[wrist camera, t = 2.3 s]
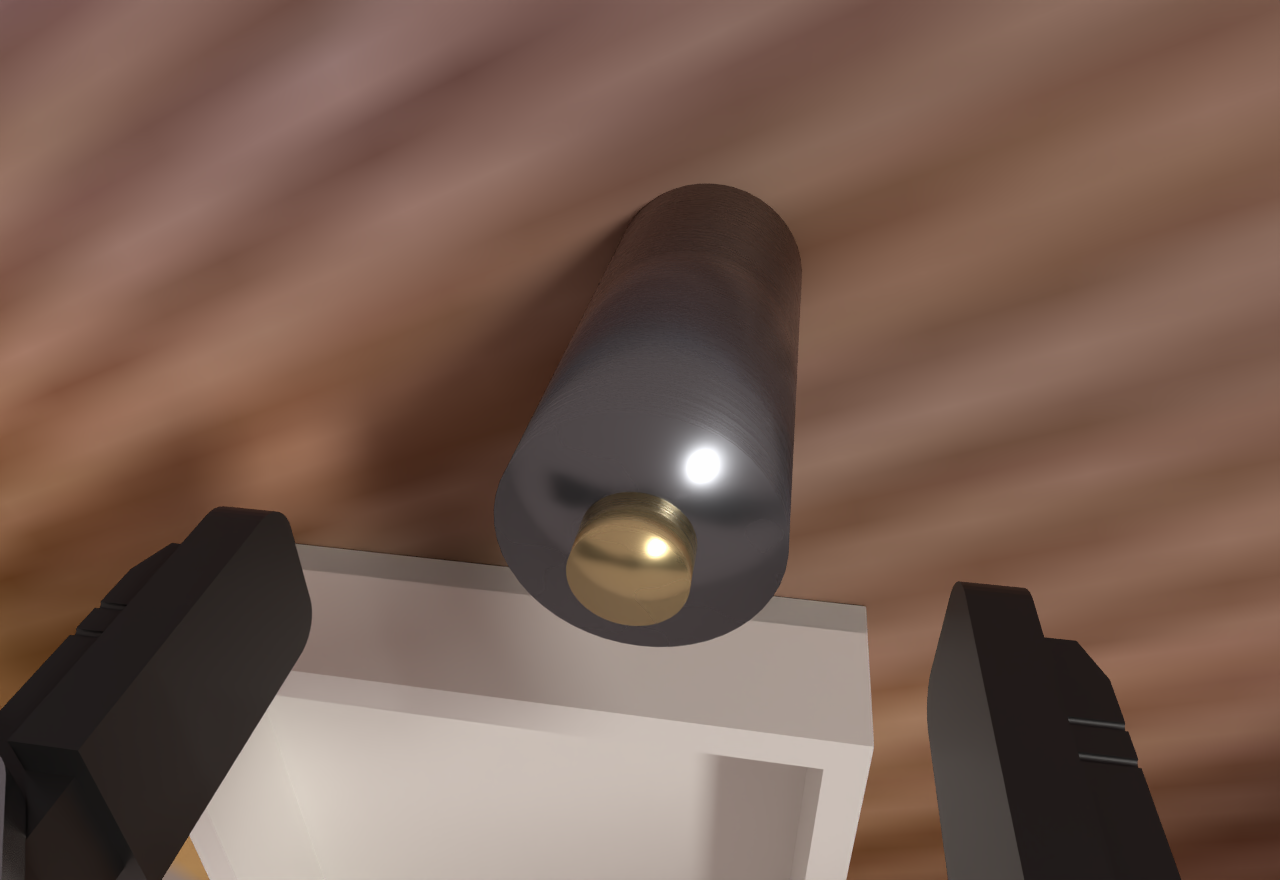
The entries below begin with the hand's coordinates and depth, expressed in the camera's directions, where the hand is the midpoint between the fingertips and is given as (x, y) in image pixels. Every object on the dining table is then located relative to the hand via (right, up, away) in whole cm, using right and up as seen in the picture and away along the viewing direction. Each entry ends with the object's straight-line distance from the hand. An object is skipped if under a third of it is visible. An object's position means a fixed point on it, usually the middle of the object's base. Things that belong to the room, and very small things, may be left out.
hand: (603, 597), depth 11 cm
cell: (+2, +5, +9) cm, 10 cm away
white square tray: (-3, -9, +19) cm, 21 cm away
